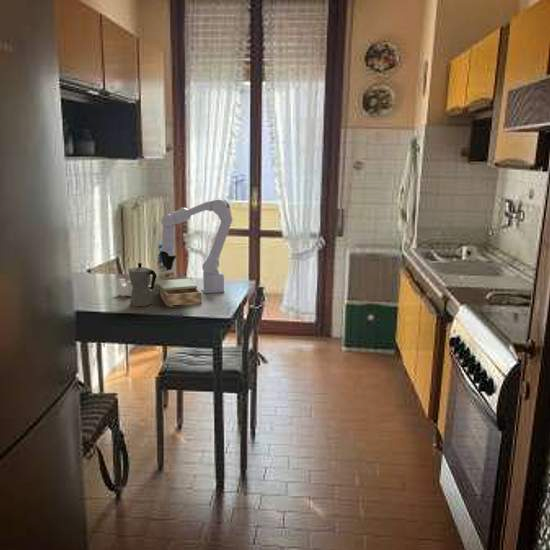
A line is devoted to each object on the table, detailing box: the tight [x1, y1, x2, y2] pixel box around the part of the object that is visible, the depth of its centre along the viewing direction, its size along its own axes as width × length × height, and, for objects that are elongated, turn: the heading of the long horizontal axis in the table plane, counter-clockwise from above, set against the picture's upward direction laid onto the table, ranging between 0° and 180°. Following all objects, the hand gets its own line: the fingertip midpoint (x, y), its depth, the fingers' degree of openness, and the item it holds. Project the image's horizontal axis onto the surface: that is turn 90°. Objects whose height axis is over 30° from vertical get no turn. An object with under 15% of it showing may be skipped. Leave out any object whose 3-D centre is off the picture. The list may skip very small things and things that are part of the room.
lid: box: [156, 277, 198, 291], centre depth 247 cm, size 15×16×4 cm
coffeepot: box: [127, 262, 157, 307], centre depth 232 cm, size 15×9×18 cm, turn 61°
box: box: [160, 287, 203, 307], centre depth 240 cm, size 15×15×5 cm
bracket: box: [118, 278, 153, 297], centre depth 251 cm, size 13×7×8 cm, turn 140°
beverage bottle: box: [156, 243, 176, 280], centre depth 271 cm, size 8×8×20 cm
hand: (167, 268), depth 259 cm, fingers open, 7 cm apart
